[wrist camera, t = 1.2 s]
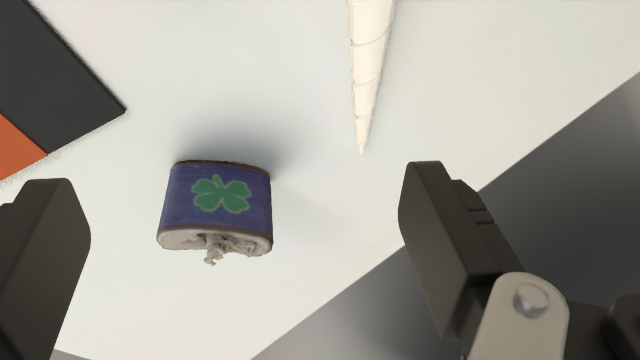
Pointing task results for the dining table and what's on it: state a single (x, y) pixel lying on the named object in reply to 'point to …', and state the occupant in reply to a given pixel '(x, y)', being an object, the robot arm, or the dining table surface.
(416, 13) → the dining table surface
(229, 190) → the flask
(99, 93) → the corner mat
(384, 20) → the unicorn horn
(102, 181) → the dining table surface
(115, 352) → the dining table surface
